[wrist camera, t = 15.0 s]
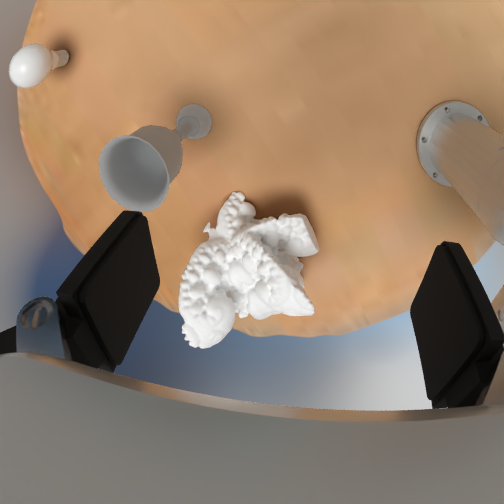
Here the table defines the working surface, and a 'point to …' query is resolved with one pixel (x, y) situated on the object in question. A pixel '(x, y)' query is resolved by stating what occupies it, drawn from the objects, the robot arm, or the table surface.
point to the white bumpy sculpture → (245, 271)
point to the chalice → (149, 159)
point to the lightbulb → (35, 64)
